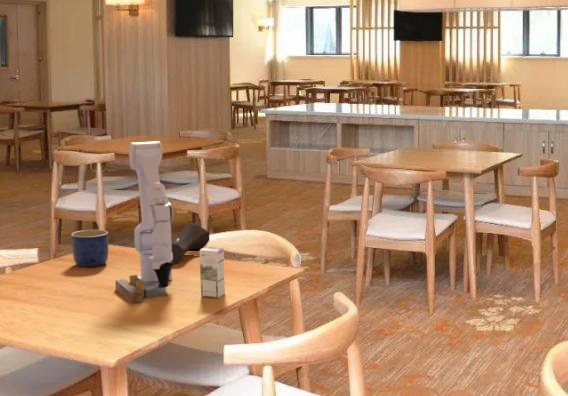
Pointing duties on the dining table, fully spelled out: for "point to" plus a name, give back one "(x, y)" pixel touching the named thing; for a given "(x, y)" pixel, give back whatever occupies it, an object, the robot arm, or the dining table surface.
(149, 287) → the steel plate
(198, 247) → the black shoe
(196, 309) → the dining table surface
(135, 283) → the bench dog strip
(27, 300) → the dining table surface
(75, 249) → the planter
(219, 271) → the syrup box
